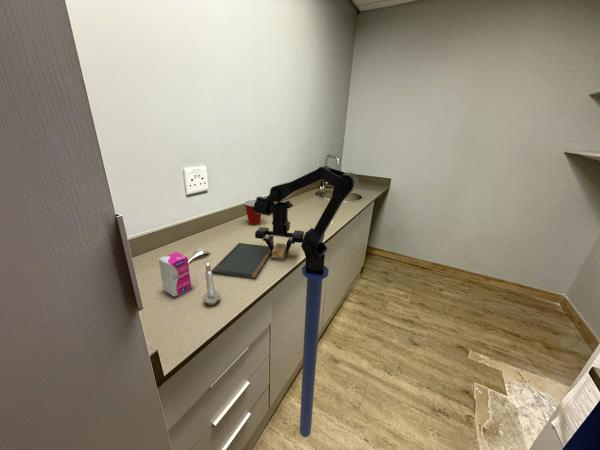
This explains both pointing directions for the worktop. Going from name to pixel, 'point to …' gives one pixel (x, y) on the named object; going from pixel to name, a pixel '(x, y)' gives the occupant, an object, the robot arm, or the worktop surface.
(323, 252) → the robot arm
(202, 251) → the metal serving spoon
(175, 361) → the worktop surface
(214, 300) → the screw
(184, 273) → the supplement box
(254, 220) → the plastic cup
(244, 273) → the chalkboard
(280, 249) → the wooden block
